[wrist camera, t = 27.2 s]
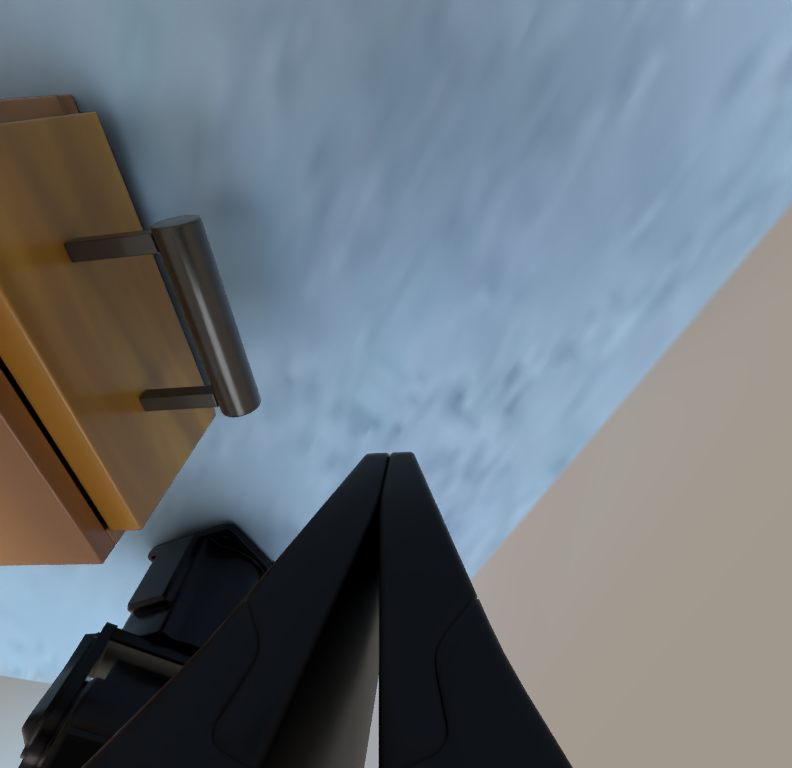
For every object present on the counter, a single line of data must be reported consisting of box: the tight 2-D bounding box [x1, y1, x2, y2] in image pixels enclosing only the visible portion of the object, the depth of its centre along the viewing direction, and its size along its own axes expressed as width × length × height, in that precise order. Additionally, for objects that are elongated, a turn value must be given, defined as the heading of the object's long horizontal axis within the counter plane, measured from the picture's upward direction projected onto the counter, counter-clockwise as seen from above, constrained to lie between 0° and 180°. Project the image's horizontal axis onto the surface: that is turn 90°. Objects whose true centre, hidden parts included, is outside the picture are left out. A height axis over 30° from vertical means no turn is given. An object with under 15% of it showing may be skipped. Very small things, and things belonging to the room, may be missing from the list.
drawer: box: [0, 112, 261, 531], centre depth 17 cm, size 17×12×7 cm
